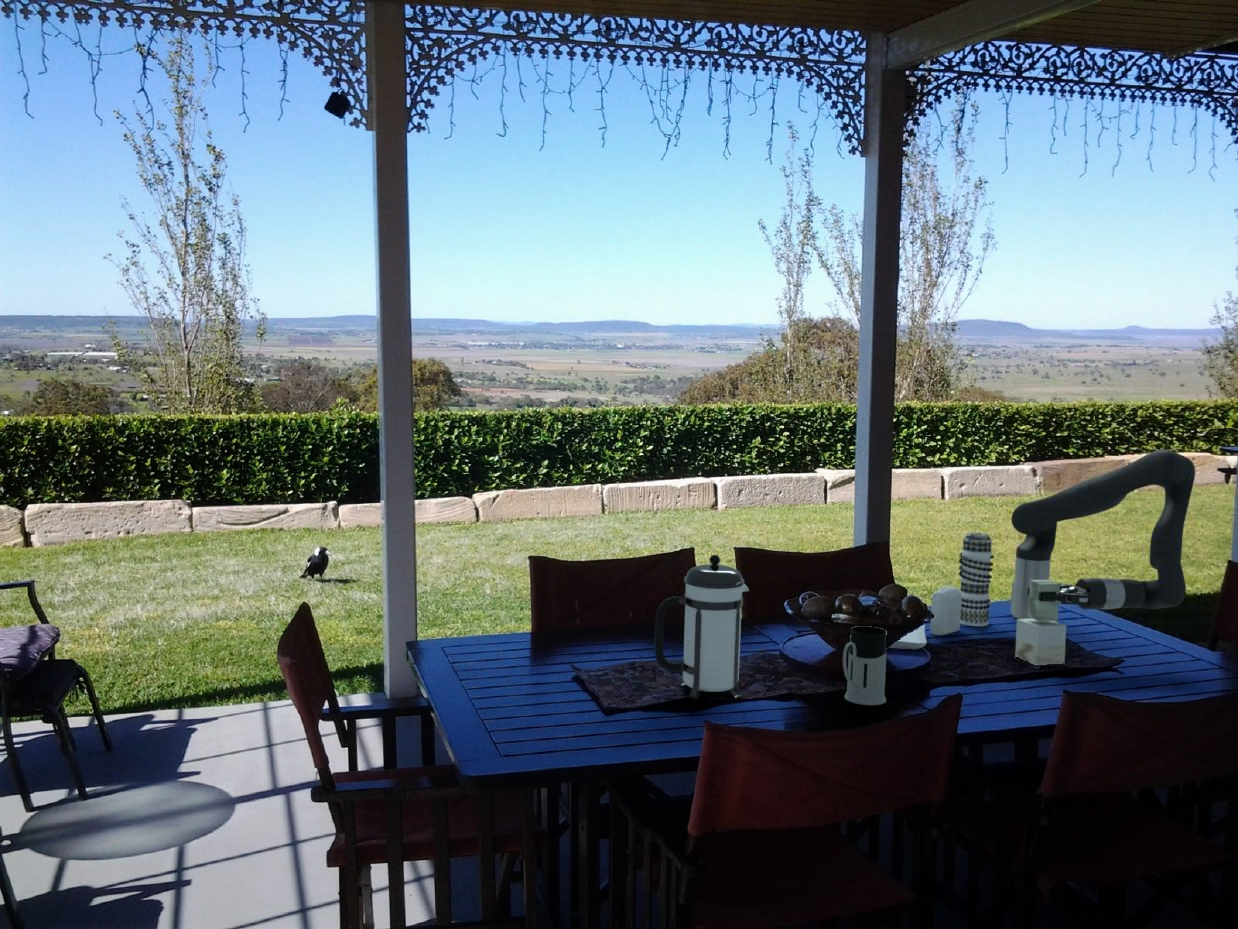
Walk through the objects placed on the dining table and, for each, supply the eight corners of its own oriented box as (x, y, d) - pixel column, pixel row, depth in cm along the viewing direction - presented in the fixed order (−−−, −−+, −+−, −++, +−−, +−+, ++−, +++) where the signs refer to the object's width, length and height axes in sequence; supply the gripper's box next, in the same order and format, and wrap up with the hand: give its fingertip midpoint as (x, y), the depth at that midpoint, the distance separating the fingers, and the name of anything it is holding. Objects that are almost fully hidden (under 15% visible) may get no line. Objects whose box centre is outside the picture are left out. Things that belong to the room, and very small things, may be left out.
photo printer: (947, 627, 299) (949, 583, 298) (961, 630, 296) (964, 585, 295) (927, 633, 292) (930, 588, 291) (942, 637, 289) (944, 591, 288)
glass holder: (893, 698, 236) (897, 630, 235) (860, 714, 226) (863, 642, 224) (857, 689, 242) (860, 623, 240) (823, 704, 231) (826, 634, 230)
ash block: (1015, 659, 271) (1016, 639, 270) (1042, 657, 273) (1043, 637, 272) (1035, 668, 263) (1037, 647, 262) (1064, 666, 265) (1065, 646, 265)
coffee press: (698, 675, 249) (702, 545, 246) (758, 691, 239) (763, 555, 236) (651, 693, 236) (655, 555, 233) (712, 709, 226) (717, 566, 223)
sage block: (1027, 616, 269) (1029, 579, 268) (1047, 615, 269) (1049, 579, 268) (1037, 621, 264) (1040, 584, 263) (1057, 620, 264) (1059, 584, 263)
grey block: (1015, 639, 270) (1016, 619, 270) (1042, 637, 273) (1043, 617, 272) (1037, 647, 263) (1038, 627, 262) (1065, 645, 265) (1066, 625, 265)
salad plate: (839, 648, 277) (839, 635, 276) (842, 628, 297) (843, 616, 297) (926, 656, 272) (927, 642, 271) (924, 635, 292) (924, 622, 292)
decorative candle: (967, 616, 312) (972, 530, 310) (996, 623, 305) (1002, 534, 303) (948, 621, 306) (953, 532, 304) (978, 628, 299) (983, 537, 297)
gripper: (1085, 572, 274) (1020, 572, 272) (1117, 584, 260) (1049, 585, 258) (1083, 602, 275) (1018, 602, 273) (1115, 615, 261) (1047, 616, 259)
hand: (1033, 594), depth 266 cm, fingers closed on sage block, 5 cm apart
